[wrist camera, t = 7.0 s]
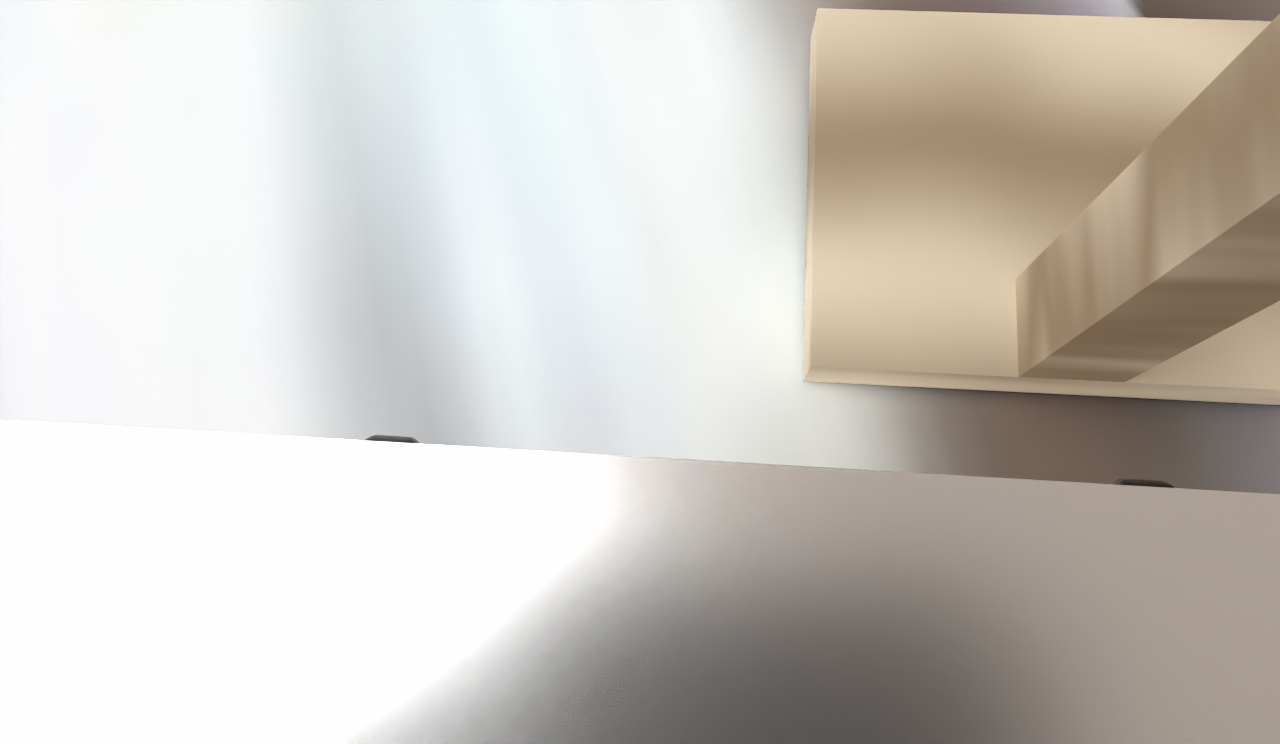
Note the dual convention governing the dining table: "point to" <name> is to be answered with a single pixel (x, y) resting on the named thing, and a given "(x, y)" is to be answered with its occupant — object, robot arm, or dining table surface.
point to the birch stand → (1044, 204)
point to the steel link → (612, 599)
